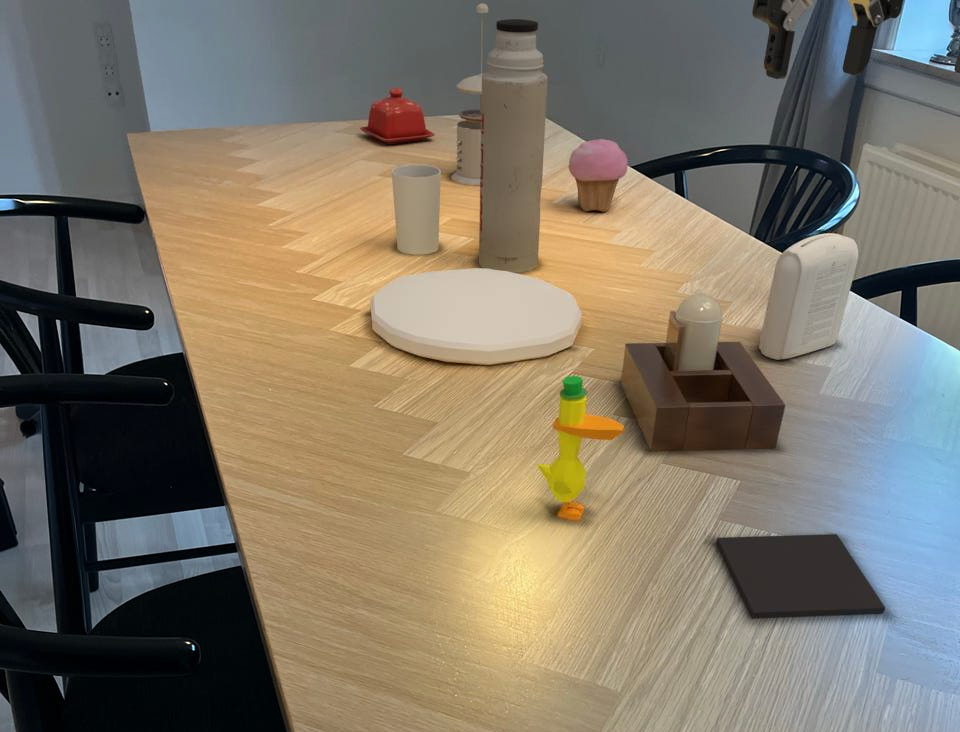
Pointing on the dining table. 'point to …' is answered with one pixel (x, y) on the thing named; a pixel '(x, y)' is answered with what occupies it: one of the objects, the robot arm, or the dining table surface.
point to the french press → (470, 127)
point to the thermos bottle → (512, 149)
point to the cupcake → (597, 172)
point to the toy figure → (574, 446)
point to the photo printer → (808, 296)
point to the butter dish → (396, 120)
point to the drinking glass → (417, 208)
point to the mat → (798, 576)
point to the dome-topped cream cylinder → (693, 334)
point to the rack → (701, 401)
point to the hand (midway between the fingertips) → (814, 75)
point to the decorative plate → (475, 316)
